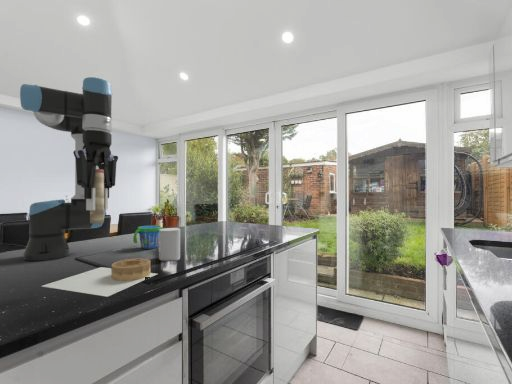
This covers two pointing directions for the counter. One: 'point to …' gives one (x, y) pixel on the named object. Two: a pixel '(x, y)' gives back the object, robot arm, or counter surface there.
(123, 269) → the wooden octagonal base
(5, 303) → the counter surface
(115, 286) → the mat
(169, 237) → the grey rounded block
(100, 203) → the beige cylinder
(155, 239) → the snack cup
